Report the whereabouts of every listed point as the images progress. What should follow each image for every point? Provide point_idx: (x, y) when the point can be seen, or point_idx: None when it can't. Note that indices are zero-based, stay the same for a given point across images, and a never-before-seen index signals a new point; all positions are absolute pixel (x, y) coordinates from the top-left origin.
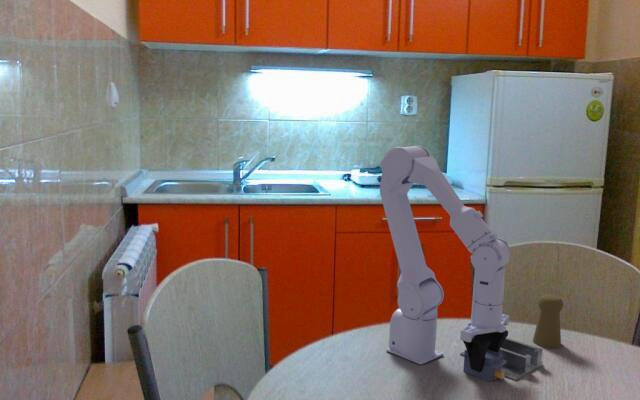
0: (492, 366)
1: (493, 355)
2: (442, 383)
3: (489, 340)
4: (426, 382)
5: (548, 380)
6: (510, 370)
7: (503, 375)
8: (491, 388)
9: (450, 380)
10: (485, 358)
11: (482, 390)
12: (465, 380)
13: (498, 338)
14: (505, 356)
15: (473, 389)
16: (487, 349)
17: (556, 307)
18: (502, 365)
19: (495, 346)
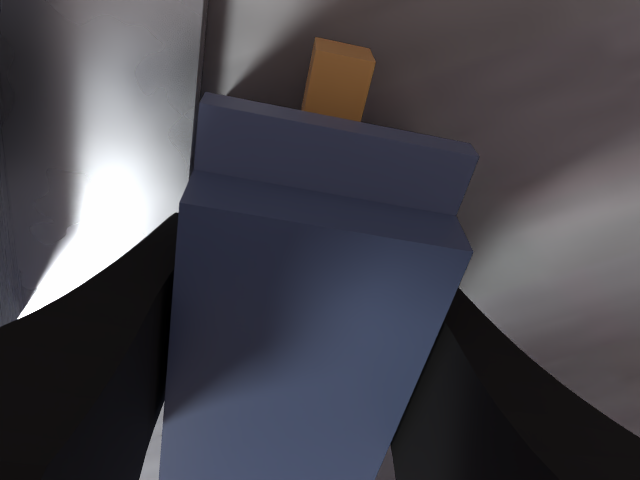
0: (454, 193)
1: (311, 279)
2: (613, 368)
3: (123, 477)
4: (636, 427)
5: None
6: (83, 44)
7: (344, 49)
8: (546, 76)
9: (543, 351)
10: (440, 317)
11: (621, 127)
12: (493, 284)
13: (91, 456)
14: None
15: (630, 191)
16: (180, 378)
17: None
18: (41, 151)
19: (139, 354)
